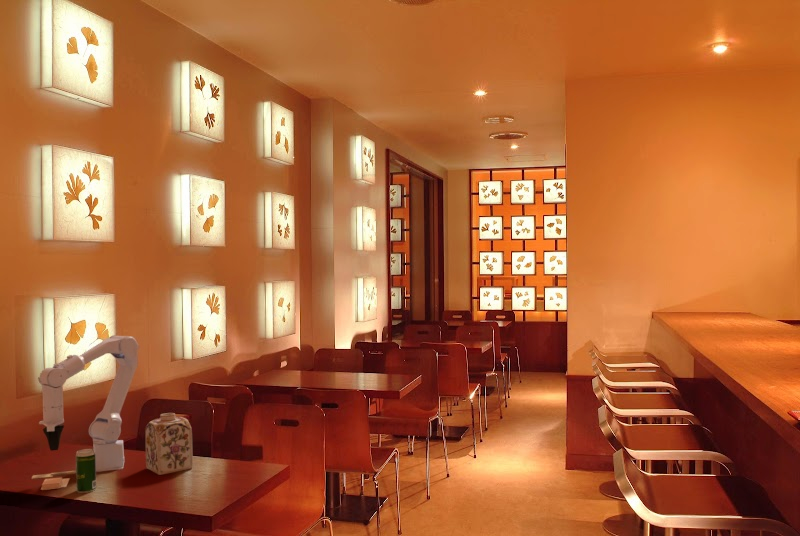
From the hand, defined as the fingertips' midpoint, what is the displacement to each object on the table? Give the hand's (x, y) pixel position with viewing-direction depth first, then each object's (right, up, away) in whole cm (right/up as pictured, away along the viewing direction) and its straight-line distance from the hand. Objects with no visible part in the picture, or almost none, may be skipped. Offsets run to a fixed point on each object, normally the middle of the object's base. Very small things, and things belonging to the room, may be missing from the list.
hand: (54, 449), depth 225 cm
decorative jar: (+32, -9, +11) cm, 35 cm away
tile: (+1, -9, -4) cm, 9 cm away
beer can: (+15, -10, -11) cm, 21 cm away
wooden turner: (-3, -10, +6) cm, 12 cm away
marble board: (+2, -10, -3) cm, 11 cm away
